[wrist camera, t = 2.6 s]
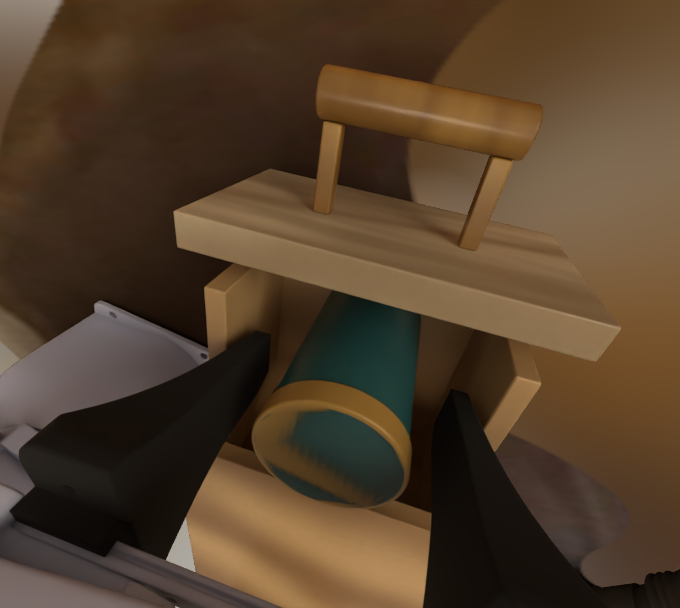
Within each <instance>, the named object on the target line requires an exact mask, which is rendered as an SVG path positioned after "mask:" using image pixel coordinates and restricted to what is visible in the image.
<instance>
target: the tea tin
mask: <svg viewBox="0 0 680 608" xmlns="http://www.w3.org/2000/svg"><path fill="white" fill-rule="evenodd" d="M420 328H421V316H420V314H418V313H414V312H411V311H407V310H403V309H400V308H396V307H393V306H389V305H385V304H382V303H378V302H374V301H371V300H367V299H363V298H360V297H356V296H353V295H349V294H345V293H342V292H338V291H334V290H332V292H331V293H330V295H329V296H328V298H327V300H326V302H325V303H324V305H323V307H322V309H321V310H320V312H319V314H318V316H317V318H316V319H315V321H314V323H313V325H312V326H311V328H310V330H309V332H308V334H307V335H306V337H305V339H304V341H303V342H302V344H301V346H300V348H299V350H298V351H297V353H296V355H295V357H294V358H293V360H292V362H291V364H290V366H289V367H288V369H287V371H286V373H285V374H284V376H283V378H282V380H281V382H280V383H279V385H278V387H277V389H276V390H275V392H274V393H272V394H271V395H270V397H269V398H268V399H267V400H266V402H265V404H264V405H263V407H262V409H261V411H260V412H259V414H258V416H257V418H256V419H255V421H254V424H253V427H252V434H251V436H252V444H253V448H254V450H255V453H256V455H257V457H258V458H259V460H260V462H261V463H262V464H263V466H264V467H265V468H266V469H267V470H268V471H269V473H270V474H271V475H273V476H274V477H275V478H276V479H277V480H278V481H280V482H281V483H282V484H284V485H285V486H287V487H288V488H290V489H291V490H293V491H295V492H296V493H298V494H300V495H302V496H304V497H306V498H309V499H311V500H314V501H316V502H319V503H323V504H326V505H330V506H334V507H340V508H347V509H369V508H375V507H380V506H383V505H386V504H388V503H390V502H392V501H394V500H395V499H397V498H398V497H399V496H400V495H401V494H402V493H403V491H404V490H405V488H406V487H407V485H408V482H409V478H410V469H411V458H412V445H411V441H410V432H411V422H412V411H413V401H414V390H415V380H416V370H417V359H418V349H419V338H420Z"/></svg>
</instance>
